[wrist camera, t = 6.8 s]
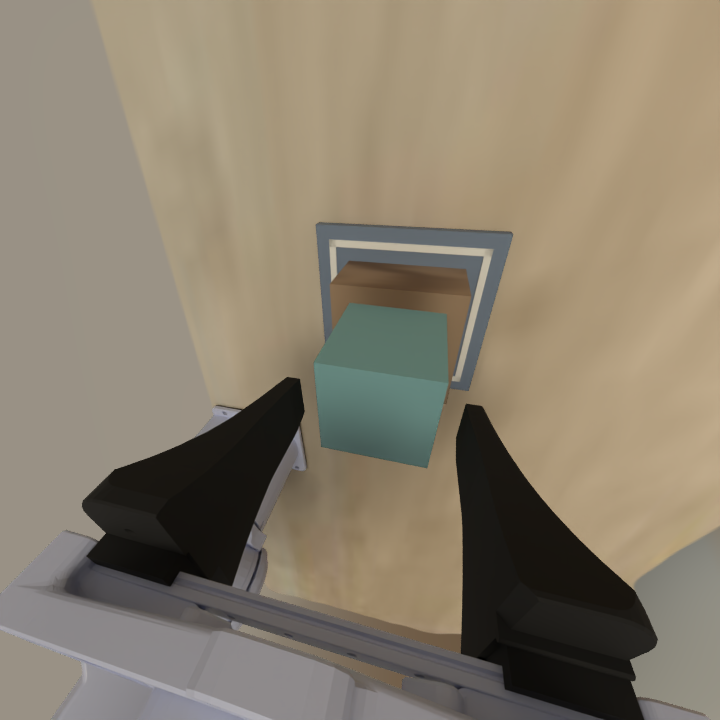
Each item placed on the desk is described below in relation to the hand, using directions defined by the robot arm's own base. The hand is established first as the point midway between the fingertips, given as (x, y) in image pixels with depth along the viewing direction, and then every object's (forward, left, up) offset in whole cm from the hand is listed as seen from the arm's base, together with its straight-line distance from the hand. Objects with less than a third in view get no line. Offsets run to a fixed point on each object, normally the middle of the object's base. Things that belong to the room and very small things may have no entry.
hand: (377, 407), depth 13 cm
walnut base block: (0, 0, -9) cm, 9 cm away
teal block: (0, 0, -5) cm, 5 cm away
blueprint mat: (0, 0, -9) cm, 9 cm away
